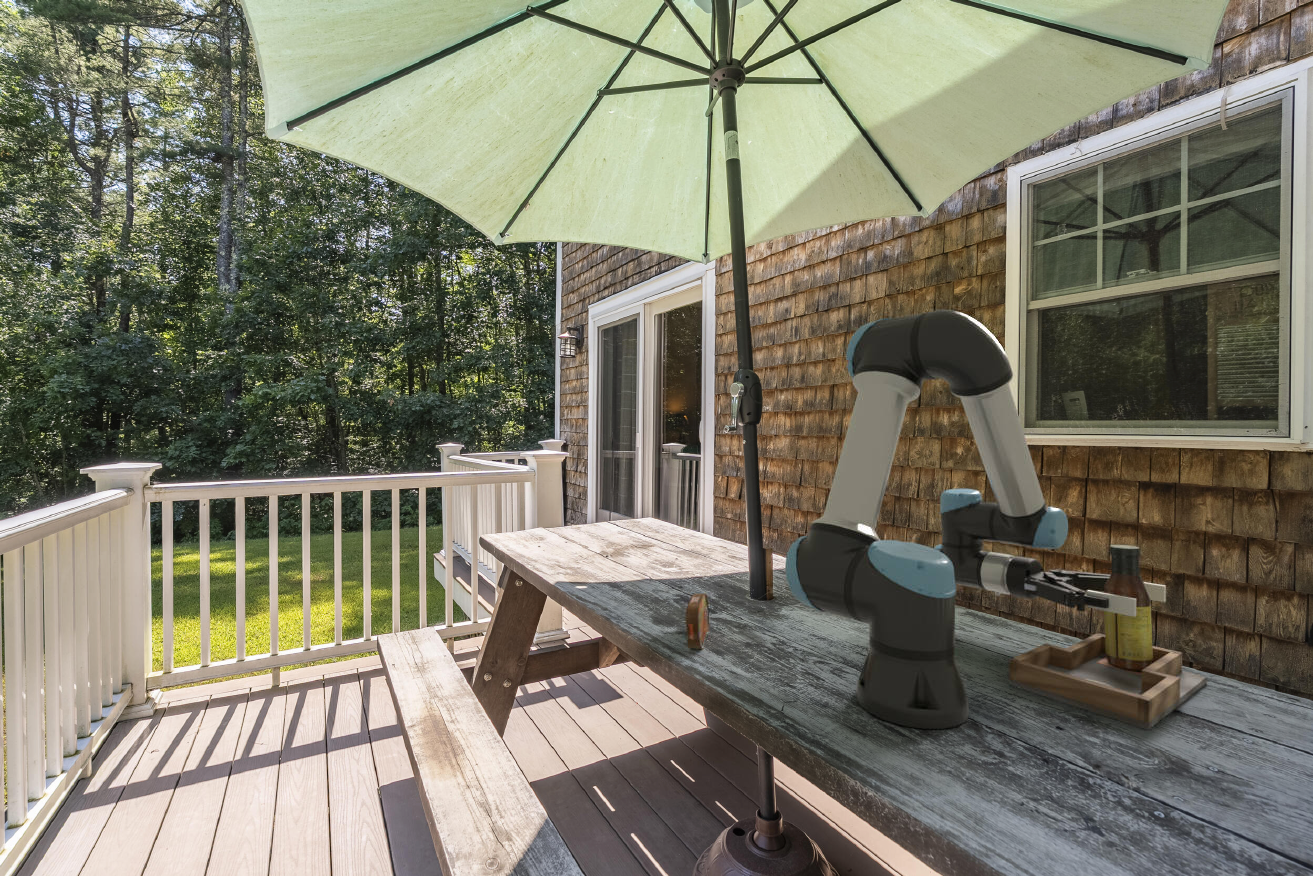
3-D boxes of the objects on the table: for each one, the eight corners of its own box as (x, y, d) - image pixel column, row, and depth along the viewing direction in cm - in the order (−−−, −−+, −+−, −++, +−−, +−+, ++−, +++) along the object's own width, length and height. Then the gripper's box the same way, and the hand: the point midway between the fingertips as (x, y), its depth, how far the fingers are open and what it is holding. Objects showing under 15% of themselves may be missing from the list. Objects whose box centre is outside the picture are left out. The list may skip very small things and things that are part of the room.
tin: (700, 656, 111) (700, 609, 111) (683, 655, 111) (683, 608, 111) (710, 629, 125) (710, 588, 125) (695, 628, 126) (695, 588, 126)
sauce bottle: (1161, 669, 100) (1162, 548, 100) (1137, 675, 98) (1137, 551, 98) (1118, 656, 106) (1119, 542, 106) (1094, 661, 104) (1095, 544, 104)
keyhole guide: (1148, 730, 82) (1148, 700, 82) (1008, 685, 97) (1009, 660, 97) (1206, 683, 97) (1206, 658, 97) (1077, 650, 112) (1077, 628, 112)
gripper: (1043, 585, 124) (1176, 610, 107) (979, 606, 110) (1121, 639, 92) (1043, 548, 124) (1176, 567, 107) (979, 564, 110) (1121, 589, 92)
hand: (1151, 600), depth 99 cm, fingers open, 13 cm apart
